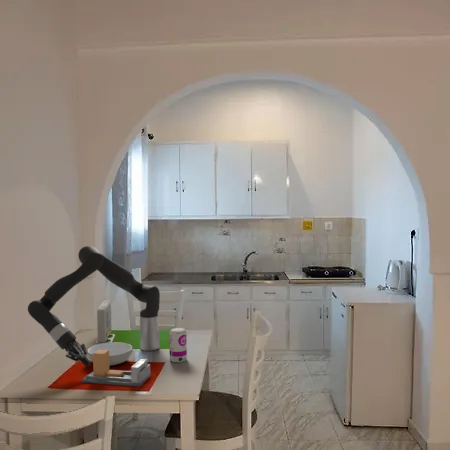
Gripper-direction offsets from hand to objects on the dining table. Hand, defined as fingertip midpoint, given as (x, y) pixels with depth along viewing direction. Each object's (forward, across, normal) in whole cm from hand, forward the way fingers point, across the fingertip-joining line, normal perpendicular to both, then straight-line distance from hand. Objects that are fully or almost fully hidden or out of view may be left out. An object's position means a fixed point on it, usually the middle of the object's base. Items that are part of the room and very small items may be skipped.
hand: (88, 365), depth 196 cm
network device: (-10, -55, -18) cm, 59 cm away
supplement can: (+26, -28, +18) cm, 43 cm away
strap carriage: (+9, 0, +4) cm, 10 cm away
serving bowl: (+4, -20, -4) cm, 20 cm away
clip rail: (+13, 0, +5) cm, 14 cm away
